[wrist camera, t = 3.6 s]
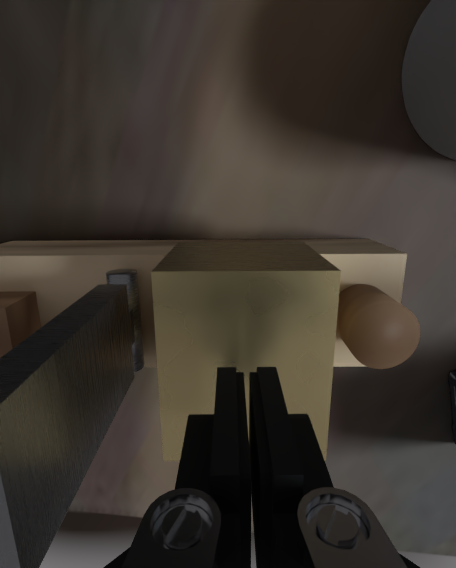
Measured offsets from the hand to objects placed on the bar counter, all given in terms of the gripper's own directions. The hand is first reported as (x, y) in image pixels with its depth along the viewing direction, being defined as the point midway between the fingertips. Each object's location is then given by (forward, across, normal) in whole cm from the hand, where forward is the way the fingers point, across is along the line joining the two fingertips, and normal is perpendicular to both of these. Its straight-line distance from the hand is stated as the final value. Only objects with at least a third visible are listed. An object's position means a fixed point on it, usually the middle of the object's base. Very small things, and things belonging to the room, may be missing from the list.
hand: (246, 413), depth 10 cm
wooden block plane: (+13, +3, 0) cm, 14 cm away
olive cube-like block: (+8, 0, 0) cm, 8 cm away
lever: (+7, +5, 0) cm, 9 cm away
